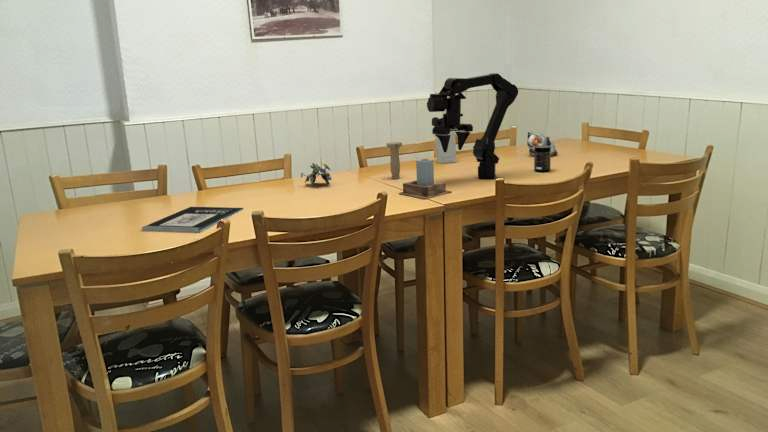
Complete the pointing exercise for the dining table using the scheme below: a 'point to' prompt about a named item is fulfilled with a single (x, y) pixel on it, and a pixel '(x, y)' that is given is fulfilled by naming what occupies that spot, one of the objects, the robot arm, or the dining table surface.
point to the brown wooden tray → (424, 190)
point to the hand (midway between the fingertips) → (452, 150)
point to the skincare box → (451, 151)
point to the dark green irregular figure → (318, 171)
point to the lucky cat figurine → (539, 142)
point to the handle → (395, 159)
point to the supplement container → (542, 158)
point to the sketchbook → (192, 219)
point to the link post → (425, 172)
